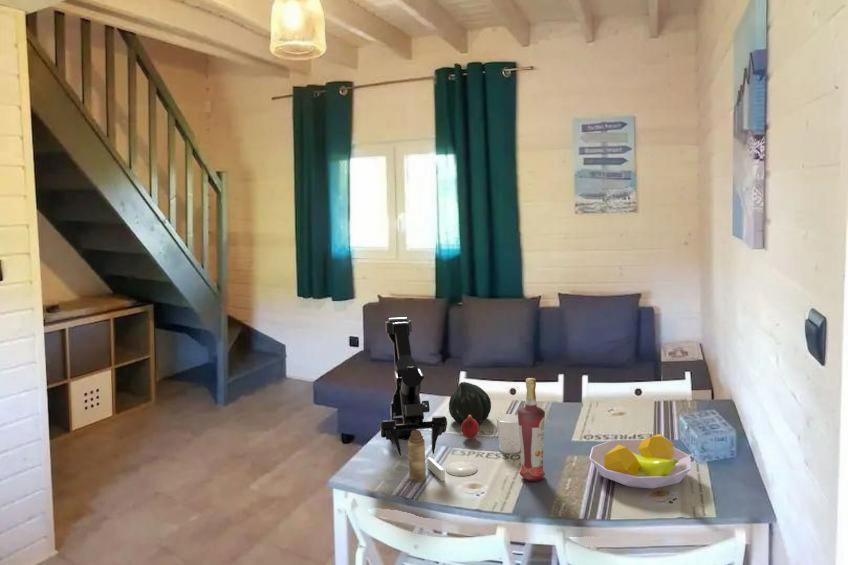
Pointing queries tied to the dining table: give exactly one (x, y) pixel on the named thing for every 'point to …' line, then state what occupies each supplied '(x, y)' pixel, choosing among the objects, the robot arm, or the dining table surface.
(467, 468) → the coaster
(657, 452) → the fruit bowl
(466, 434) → the onion
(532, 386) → the liquor
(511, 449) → the white cup
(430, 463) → the divider wall
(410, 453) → the pepper mill
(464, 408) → the squash
